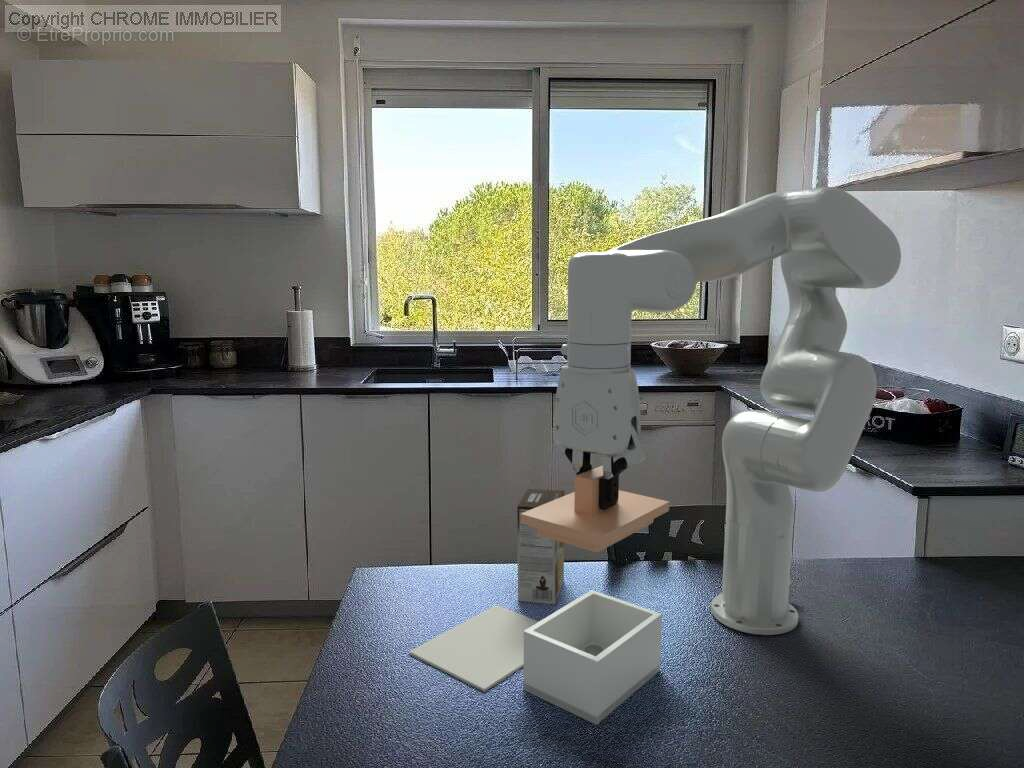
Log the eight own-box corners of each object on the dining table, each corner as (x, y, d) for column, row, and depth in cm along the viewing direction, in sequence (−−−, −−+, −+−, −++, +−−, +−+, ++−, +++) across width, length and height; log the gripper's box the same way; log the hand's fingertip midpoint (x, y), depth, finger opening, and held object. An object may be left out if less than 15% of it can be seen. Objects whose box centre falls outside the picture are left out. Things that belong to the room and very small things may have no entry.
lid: (592, 503, 101) (593, 452, 100) (668, 522, 93) (670, 467, 92) (520, 535, 89) (520, 477, 88) (600, 559, 82) (601, 497, 80)
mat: (495, 607, 115) (495, 604, 114) (568, 636, 106) (568, 633, 106) (409, 653, 101) (409, 651, 101) (484, 691, 92) (484, 689, 92)
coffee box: (527, 577, 125) (527, 487, 122) (564, 580, 124) (565, 489, 121) (516, 602, 116) (516, 505, 114) (556, 605, 115) (557, 507, 112)
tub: (590, 642, 104) (591, 589, 102) (660, 670, 97) (661, 613, 95) (523, 689, 92) (523, 631, 91) (596, 724, 85) (597, 661, 84)
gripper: (526, 354, 90) (527, 498, 93) (641, 366, 80) (638, 527, 83) (563, 348, 96) (562, 484, 99) (674, 358, 85) (670, 510, 88)
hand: (597, 502), depth 91 cm, fingers closed on lid, 2 cm apart
